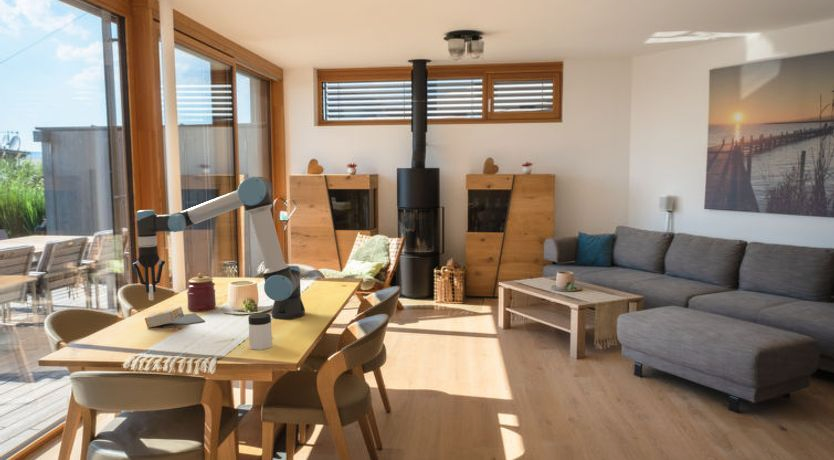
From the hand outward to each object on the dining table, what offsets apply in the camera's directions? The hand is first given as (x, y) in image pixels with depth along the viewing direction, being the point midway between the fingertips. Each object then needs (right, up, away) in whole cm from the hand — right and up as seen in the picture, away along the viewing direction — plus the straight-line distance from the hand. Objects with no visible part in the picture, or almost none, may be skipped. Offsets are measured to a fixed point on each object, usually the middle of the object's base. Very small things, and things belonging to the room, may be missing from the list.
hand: (151, 299), depth 254 cm
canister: (+11, -8, +30) cm, 33 cm away
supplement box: (0, -9, 0) cm, 9 cm away
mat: (+10, -10, +8) cm, 16 cm away
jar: (+56, -14, -33) cm, 67 cm away
